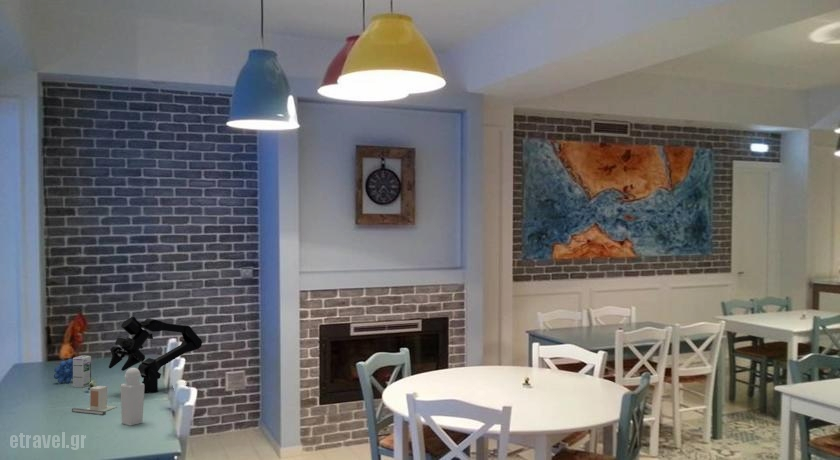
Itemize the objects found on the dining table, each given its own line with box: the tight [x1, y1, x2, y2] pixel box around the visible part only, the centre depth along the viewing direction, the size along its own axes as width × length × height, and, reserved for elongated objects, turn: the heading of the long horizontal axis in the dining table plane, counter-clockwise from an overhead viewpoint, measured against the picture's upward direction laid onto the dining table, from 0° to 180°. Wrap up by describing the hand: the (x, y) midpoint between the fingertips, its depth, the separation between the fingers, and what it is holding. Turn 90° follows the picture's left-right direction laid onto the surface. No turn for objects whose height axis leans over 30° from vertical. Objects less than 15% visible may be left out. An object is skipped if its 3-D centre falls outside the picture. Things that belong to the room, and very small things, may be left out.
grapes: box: [53, 358, 73, 384], centre depth 323 cm, size 12×7×12 cm, turn 116°
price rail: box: [71, 407, 107, 416], centre depth 271 cm, size 16×1×1 cm, turn 75°
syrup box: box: [72, 355, 92, 389], centre depth 317 cm, size 6×6×14 cm
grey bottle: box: [120, 367, 145, 427], centre depth 258 cm, size 6×6×22 cm
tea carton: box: [89, 385, 108, 410], centre depth 276 cm, size 5×5×9 cm
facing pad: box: [85, 405, 118, 412], centre depth 277 cm, size 10×10×1 cm
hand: (115, 369), depth 293 cm, fingers open, 9 cm apart
